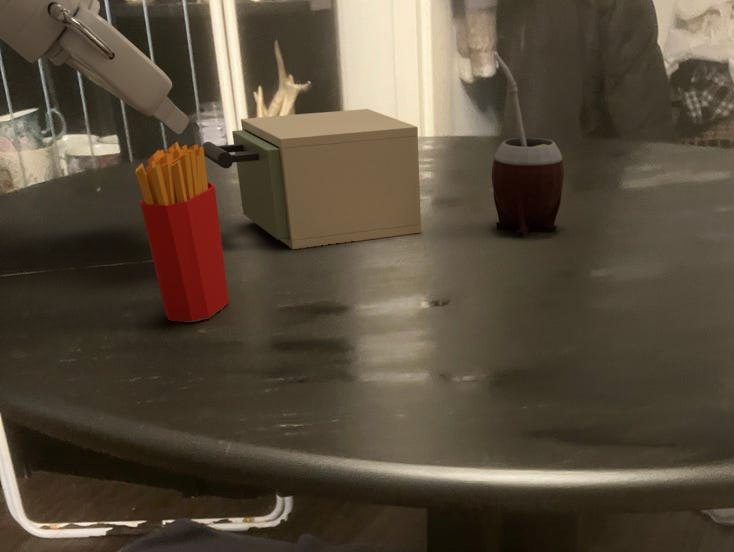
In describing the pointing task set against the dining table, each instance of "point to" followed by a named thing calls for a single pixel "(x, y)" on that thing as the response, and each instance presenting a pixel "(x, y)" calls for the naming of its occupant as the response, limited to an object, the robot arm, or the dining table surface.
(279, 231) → the drawer
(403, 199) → the cabinet
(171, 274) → the french fries
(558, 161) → the mate gourd
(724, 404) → the dining table surface
